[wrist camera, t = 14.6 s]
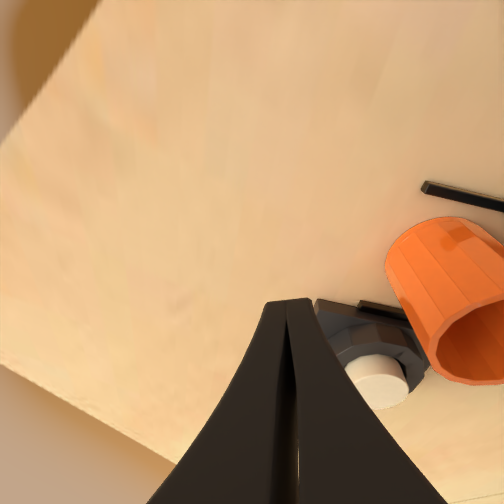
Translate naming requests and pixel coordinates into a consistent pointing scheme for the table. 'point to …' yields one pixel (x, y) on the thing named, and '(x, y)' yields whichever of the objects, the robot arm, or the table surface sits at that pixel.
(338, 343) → the button block
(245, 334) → the table surface
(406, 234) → the cup
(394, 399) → the button
